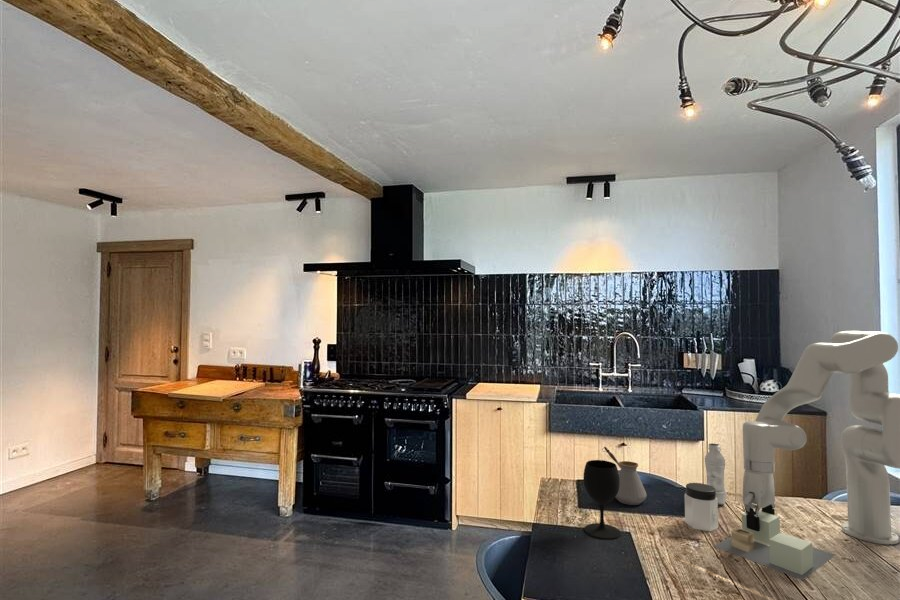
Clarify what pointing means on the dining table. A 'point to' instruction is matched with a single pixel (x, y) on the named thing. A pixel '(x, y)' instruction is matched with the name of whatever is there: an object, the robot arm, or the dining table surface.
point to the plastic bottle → (716, 471)
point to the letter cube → (742, 539)
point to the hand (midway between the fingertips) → (760, 525)
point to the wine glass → (601, 494)
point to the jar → (701, 506)
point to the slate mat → (763, 556)
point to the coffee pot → (629, 483)
